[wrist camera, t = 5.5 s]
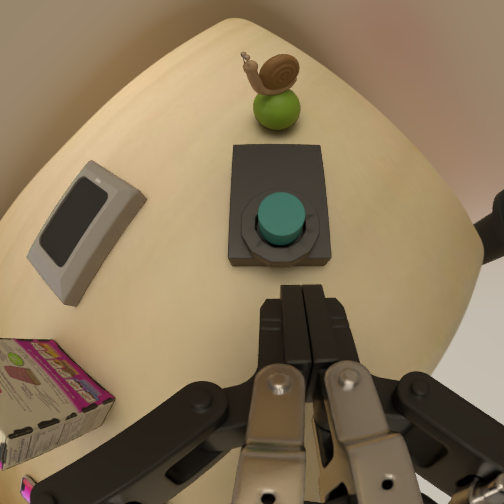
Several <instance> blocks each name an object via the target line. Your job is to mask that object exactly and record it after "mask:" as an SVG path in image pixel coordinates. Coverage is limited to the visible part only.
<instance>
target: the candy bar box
mask: <svg viewBox="0 0 504 504" xmlns="http://www.w3.org/2000/svg"><path fill="white" fill-rule="evenodd" d="M114 400H115V398H114V397H113V396H112V395H111V394H110V393H109V392H107V391H106V390H105V389H104V388H103V387H101V386H100V385H99V384H98V383H97V382H95V381H94V380H93V379H92V378H91V377H90V376H89V375H88V374H86V373H85V372H84V371H83V370H82V369H81V368H80V367H79V366H78V365H77V364H76V363H75V362H74V361H73V360H72V359H71V358H70V357H68V355H67V354H66V353H65V352H64V351H63V350H62V349H61V348H60V347H59V346H58V345H57V344H56V343H55V342H54V341H53V340H52V339H50V340H46V339H45V340H44V339H15V338H0V469H1V470H2V471H3V470H5V469H8V468H11V467H13V466H16V465H18V464H21V463H23V462H25V461H28V460H30V459H32V458H35V457H37V456H39V455H42V454H44V453H46V452H49V451H51V450H52V449H54V448H57V447H59V446H61V445H64V444H66V443H68V442H70V441H72V440H74V439H76V438H78V437H80V436H82V435H84V434H86V433H88V432H90V431H92V430H94V429H96V428H98V427H99V426H101V425H102V423H103V421H104V420H105V417H106V415H107V413H108V411H109V409H110V407H111V405H112V403H113V402H114Z"/></svg>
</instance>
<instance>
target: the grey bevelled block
mask: <svg viewBox="0 0 504 504" xmlns="http://www.w3.org/2000/svg"><path fill="white" fill-rule="evenodd" d="M146 200H147V198H146V197H145V196H144V195H143V194H142V193H141V191H139V190H138V189H136V188H135V187H133V186H131V185H130V184H128V183H127V182H125V181H124V180H122V179H121V178H119V177H117V176H116V175H114V174H113V173H111V172H110V171H108V170H107V169H105V168H103V167H102V166H100V165H99V164H97V163H96V162H94V161H93V160H91V161H89V162H88V163H87V164H86V165H85V166H84V168H83V169H82V170H81V171H80V173H79V174H78V175H77V177H76V178H75V179H74V181H73V182H72V183H71V185H70V186H69V188H68V189H67V190H66V192H65V193H64V195H63V196H62V198H61V199H60V201H59V202H58V204H57V205H56V207H55V208H54V210H53V211H52V213H51V214H50V216H49V217H48V219H47V221H46V222H45V224H44V225H43V227H42V229H41V230H40V232H39V234H38V236H37V237H36V239H35V241H34V243H33V244H32V246H31V248H30V250H29V252H28V254H27V258H28V260H29V261H30V263H31V264H32V265H33V267H34V268H35V269H36V271H37V272H38V273H39V275H40V276H41V277H42V278H43V280H44V281H45V282H46V284H47V285H48V286H49V287H50V288H51V290H52V291H53V292H54V293H55V295H56V296H57V297H58V298H59V299H60V300H61V302H62V303H63V304H65V305H70V306H75V307H77V305H78V303H79V301H80V299H81V298H82V296H83V294H84V293H85V291H86V289H87V287H88V286H89V284H90V282H91V281H92V279H93V277H94V276H95V274H96V273H97V271H98V269H99V268H100V266H101V265H102V263H103V261H104V260H105V258H106V257H107V255H108V254H109V252H110V251H111V249H112V248H113V246H114V245H115V243H116V242H117V240H118V239H119V237H120V236H121V234H122V233H123V232H124V230H125V229H126V227H127V226H128V224H129V223H130V222H131V220H132V219H133V217H134V216H135V215H136V213H137V212H138V211H139V209H140V208H141V207H142V205H143V204H144V203H145V201H146Z"/></svg>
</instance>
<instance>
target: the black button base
mask: <svg viewBox="0 0 504 504" xmlns="http://www.w3.org/2000/svg"><path fill="white" fill-rule="evenodd" d="M277 192H285V193H289V194H292V195H294V196H295V197H297V198H298V199H299V200H300V201H301V203H302V204H303V206H304V209H305V221H304V224H303V227H302V230H301V233H300V235H299V236H298V238H297V239H296V240H295V241H293V242H292V243H290V244H287V245H274V244H272V243H270V242H268V241H267V240H265V239H264V237H263V236H262V235H261V233H260V230H259V223H258V208H259V206H260V204H261V202H262V201H263V200H264V199H265V198H266V197H267V196H269V195H271V194H273V193H277ZM228 259H229V261H230V263H231V264H232V266H270V267H290V266H325V264H326V263H327V262H328V261H329V260H330V259H331V245H330V231H329V218H328V207H327V197H326V187H325V178H324V170H323V162H322V154H321V147H320V145H301V144H245V145H233V158H232V176H231V195H230V217H229V241H228Z"/></svg>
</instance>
